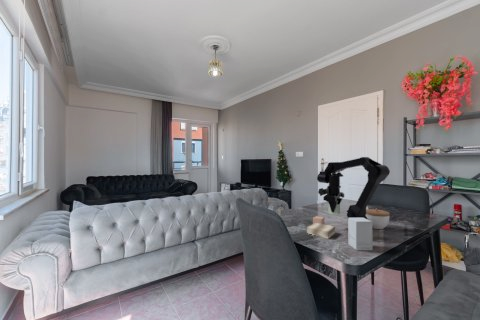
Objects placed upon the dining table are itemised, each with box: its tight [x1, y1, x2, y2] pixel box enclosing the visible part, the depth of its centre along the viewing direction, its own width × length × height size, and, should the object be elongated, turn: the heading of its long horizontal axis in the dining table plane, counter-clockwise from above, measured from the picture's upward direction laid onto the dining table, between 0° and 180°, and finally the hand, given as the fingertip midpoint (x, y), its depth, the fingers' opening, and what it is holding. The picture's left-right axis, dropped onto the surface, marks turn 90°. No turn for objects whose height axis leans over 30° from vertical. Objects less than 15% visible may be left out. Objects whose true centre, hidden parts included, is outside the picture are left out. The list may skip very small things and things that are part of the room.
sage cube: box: [327, 203, 341, 216], centre depth 125 cm, size 5×5×5 cm
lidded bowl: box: [366, 207, 390, 230], centre depth 128 cm, size 13×13×11 cm
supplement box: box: [347, 217, 373, 251], centre depth 99 cm, size 7×7×13 cm
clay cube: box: [312, 215, 325, 225], centre depth 131 cm, size 5×5×5 cm
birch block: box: [306, 223, 336, 239], centre depth 117 cm, size 11×11×4 cm
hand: (334, 211), depth 125 cm, fingers closed on sage cube, 5 cm apart
